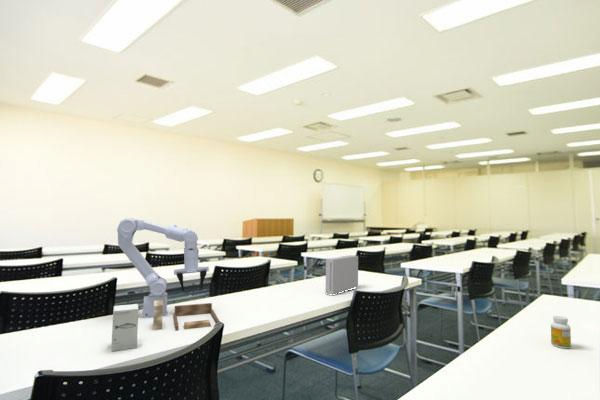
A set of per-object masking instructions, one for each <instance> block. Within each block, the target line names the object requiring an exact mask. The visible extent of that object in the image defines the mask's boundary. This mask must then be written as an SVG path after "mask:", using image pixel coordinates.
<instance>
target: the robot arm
mask: <svg viewBox="0 0 600 400" xmlns="http://www.w3.org/2000/svg"><path fill="white" fill-rule="evenodd" d="M143 230H147V231H150V232H156V233H158V234H163V235H165V237H166V239H168V240H173V241H176V242H180V243H182V242H184V248H183V256H184V257H183V258H184V259H183V261H184V262H183V263H184V267H183V268H179V269H173V276H176V278H177V279H178V282H179V284H180V287H181V291H182V292H184V291H185V288H184V274H193V273H199V289H200V290H202V289H203V285H204V281H205V279H206V276H207V272H210V268H209V266H199V256H198V255H199V254H198V253H199V252H198V251H199V250H198V240H199V238H198V235H197V233H196V232H195V231H193V230H189V229H188V228H185V229H184V228H181V227H178V225H177V224H173V225H168V226H167V227H166V226H165V225H160V224H157V223H154V222H151V221H148V220H144V219H139V218H137V219H136V218H135V219H134V218H132V217H131V218H129V217H126V218H124V219H121V220H120V221H119V224H118V226H117V229H116V231H117V232H116V233H117V245H118V247H119V248H120V249H121V251H122V253H124V255H125V256H126V257H127V258H128V260H129V261H130V262H131V263H132V264H133V266H134V268H135V269H136V270H137V271H138V272H139V273H140V275H141V276H142V278H143V279H144V280H145V283H146V284H147V286H148V287H149V292H150V293H149V294H148V295H144V296H143V309H142V313H141V314H142V318H143V319H148V318H154V301H159V300H163V316H162V317H167V316H168V314H169V313H168V292H166V291H167V286H168V282H167V280H166V279H165V278H163V277H162V276H161V275H159V273H158V272H156V271H155V270H154V268H153V267H152V265H151V264H150V263H149V262H148V261H147V260H146V258H145V257H144V255H143V254H142V253H141V252H140V251H139V249H138V248H137V247H136V246H135V244H134V243H133V240H134V235H135V233H136V232H137V231H143Z"/></svg>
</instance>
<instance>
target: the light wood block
mask: <svg viewBox="0 0 600 400" xmlns="http://www.w3.org/2000/svg"><path fill="white" fill-rule="evenodd" d="M163 317H164V316H163V300H159V301H154V317H153V324H152V325H153V328H152V331H158V330H163Z"/></svg>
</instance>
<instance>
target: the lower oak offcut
mask: <svg viewBox="0 0 600 400" xmlns="http://www.w3.org/2000/svg"><path fill="white" fill-rule="evenodd" d="M182 327H183V330H186V329H185V327H184V325H182ZM209 327H210V328H211V327H212V324H211V323H210V326H206V327H205V328H209ZM200 328H201V329H202V328H204V327H198V328H197V329H200ZM191 329H192V330H193V329H195V328H189V329H188V330H191Z"/></svg>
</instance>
